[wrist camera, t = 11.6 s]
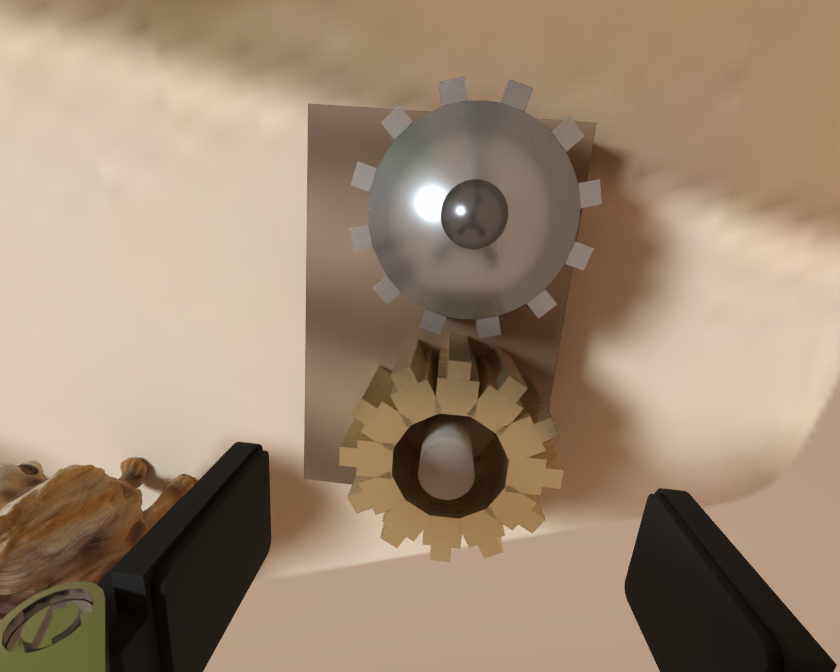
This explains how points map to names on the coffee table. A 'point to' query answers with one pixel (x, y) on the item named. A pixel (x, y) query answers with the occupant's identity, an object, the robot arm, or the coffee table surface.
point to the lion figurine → (71, 524)
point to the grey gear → (474, 208)
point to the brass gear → (494, 468)
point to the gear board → (393, 311)
